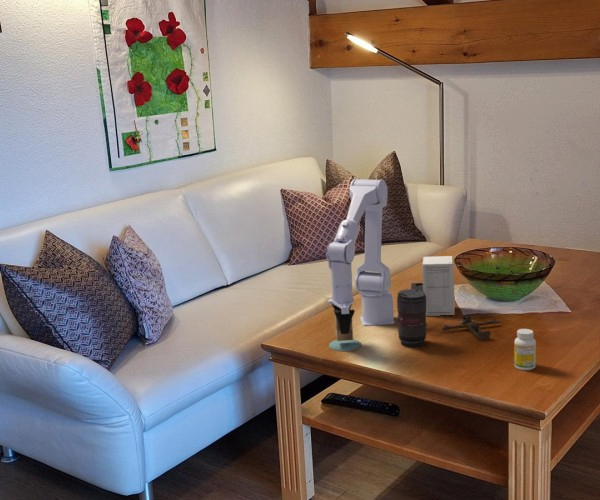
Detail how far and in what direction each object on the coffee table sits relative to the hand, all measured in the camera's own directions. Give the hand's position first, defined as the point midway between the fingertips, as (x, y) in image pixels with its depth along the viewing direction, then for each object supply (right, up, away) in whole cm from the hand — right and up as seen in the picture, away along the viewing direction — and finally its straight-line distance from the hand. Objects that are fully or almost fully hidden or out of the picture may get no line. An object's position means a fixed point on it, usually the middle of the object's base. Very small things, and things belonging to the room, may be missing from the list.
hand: (344, 330), depth 233 cm
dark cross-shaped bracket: (+38, -2, +6) cm, 39 cm away
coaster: (0, -4, +1) cm, 5 cm away
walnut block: (0, -2, +1) cm, 2 cm away
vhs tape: (+29, +8, +45) cm, 54 cm away
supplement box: (+31, +3, +26) cm, 40 cm away
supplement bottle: (+45, -7, -21) cm, 50 cm away
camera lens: (+19, -4, 0) cm, 20 cm away
